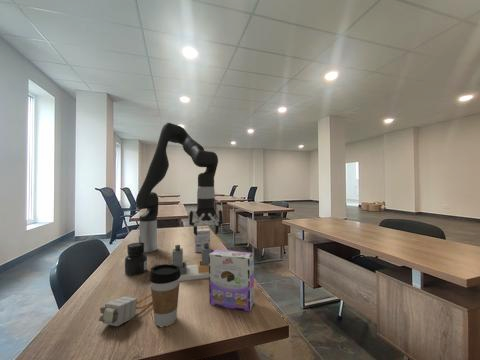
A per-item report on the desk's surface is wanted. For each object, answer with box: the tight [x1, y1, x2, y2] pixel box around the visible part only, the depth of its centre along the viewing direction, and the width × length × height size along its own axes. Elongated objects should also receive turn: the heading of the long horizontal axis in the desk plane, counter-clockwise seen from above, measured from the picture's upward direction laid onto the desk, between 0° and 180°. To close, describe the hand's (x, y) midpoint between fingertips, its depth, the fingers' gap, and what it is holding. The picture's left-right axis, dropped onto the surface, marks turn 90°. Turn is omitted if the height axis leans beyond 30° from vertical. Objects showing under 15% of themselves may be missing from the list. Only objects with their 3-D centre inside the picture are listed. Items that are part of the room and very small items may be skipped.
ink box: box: [193, 228, 211, 253], centre depth 127 cm, size 8×5×12 cm, turn 106°
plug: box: [200, 243, 212, 266], centre depth 97 cm, size 4×4×11 cm
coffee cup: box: [149, 263, 181, 327], centre depth 64 cm, size 8×8×15 cm
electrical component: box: [98, 293, 153, 327], centre depth 71 cm, size 24×6×5 cm, turn 164°
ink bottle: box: [124, 241, 148, 277], centre depth 98 cm, size 10×9×12 cm
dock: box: [169, 244, 209, 282], centre depth 96 cm, size 23×12×12 cm, turn 103°
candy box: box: [208, 249, 255, 312], centre depth 72 cm, size 14×6×16 cm, turn 71°
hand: (206, 234), depth 97 cm, fingers open, 8 cm apart
